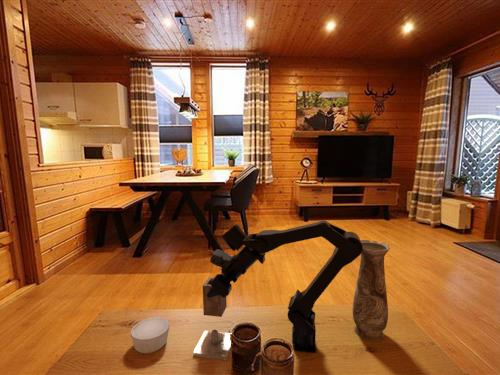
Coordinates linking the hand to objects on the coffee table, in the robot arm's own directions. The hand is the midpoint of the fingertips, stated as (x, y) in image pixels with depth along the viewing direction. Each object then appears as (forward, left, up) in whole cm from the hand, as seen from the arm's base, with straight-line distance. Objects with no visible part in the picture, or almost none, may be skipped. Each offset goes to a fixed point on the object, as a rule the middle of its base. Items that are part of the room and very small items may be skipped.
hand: (210, 291), depth 87 cm
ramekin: (+17, +9, -14) cm, 23 cm away
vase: (-51, -7, -13) cm, 54 cm away
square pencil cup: (-1, 0, -7) cm, 7 cm away
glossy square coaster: (-3, +7, -13) cm, 16 cm away
